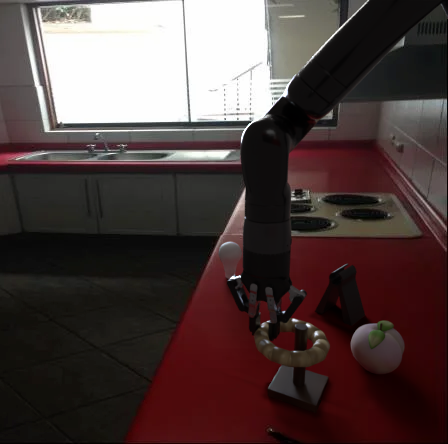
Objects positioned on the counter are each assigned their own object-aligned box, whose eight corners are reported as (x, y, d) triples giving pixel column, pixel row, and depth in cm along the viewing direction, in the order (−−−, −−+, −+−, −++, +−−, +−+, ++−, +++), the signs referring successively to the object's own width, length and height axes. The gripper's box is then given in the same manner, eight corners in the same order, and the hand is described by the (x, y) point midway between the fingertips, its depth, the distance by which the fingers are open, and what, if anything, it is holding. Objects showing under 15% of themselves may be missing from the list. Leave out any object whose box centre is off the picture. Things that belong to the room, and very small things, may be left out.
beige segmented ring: (335, 339, 71) (336, 327, 71) (317, 380, 62) (318, 366, 61) (268, 320, 78) (269, 309, 77) (243, 355, 69) (243, 342, 68)
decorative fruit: (354, 350, 81) (359, 305, 78) (402, 364, 76) (409, 316, 73) (343, 378, 74) (347, 329, 71) (395, 395, 69) (402, 343, 66)
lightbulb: (217, 284, 111) (216, 246, 107) (220, 274, 116) (220, 237, 113) (240, 286, 109) (240, 247, 106) (243, 276, 115) (243, 239, 111)
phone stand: (313, 315, 94) (316, 266, 90) (327, 305, 97) (330, 258, 94) (352, 331, 87) (357, 279, 83) (366, 320, 91) (371, 270, 87)
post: (328, 383, 73) (333, 321, 69) (315, 413, 66) (320, 346, 63) (282, 369, 77) (285, 309, 73) (267, 395, 71) (269, 332, 67)
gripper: (217, 244, 68) (218, 336, 73) (303, 259, 60) (298, 360, 66) (236, 230, 74) (236, 316, 79) (317, 242, 66) (311, 336, 72)
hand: (264, 335), depth 72 cm, fingers closed on beige segmented ring, 2 cm apart
